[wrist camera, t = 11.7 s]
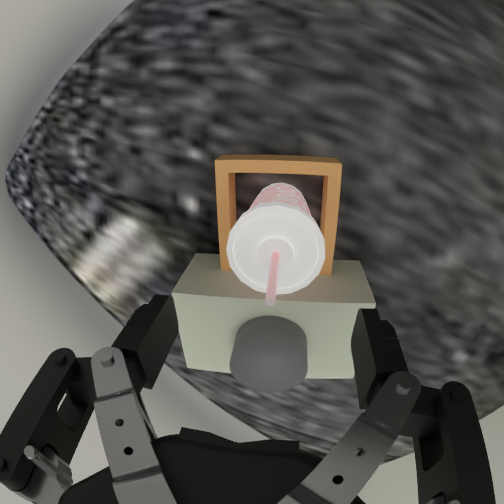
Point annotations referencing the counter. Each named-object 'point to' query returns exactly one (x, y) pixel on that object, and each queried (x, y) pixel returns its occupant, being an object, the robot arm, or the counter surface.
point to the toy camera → (286, 305)
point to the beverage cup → (276, 243)
